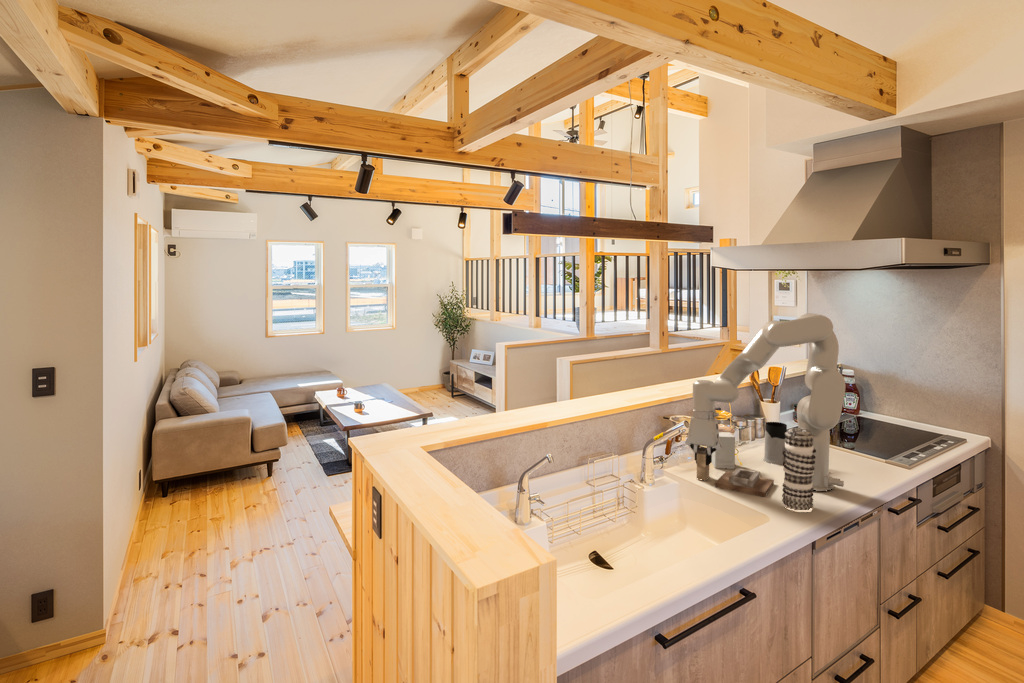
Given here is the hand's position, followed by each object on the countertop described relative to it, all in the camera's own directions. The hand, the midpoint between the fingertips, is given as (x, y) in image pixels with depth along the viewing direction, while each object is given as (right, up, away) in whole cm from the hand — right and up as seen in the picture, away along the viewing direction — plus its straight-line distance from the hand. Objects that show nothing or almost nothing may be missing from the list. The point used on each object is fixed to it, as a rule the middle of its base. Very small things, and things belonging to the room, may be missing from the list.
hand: (703, 463), depth 185 cm
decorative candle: (+20, -8, -26) cm, 34 cm away
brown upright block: (0, -6, +1) cm, 6 cm away
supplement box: (+13, -4, +13) cm, 19 cm away
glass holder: (+38, -4, +16) cm, 42 cm away
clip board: (+12, -6, -7) cm, 15 cm away
